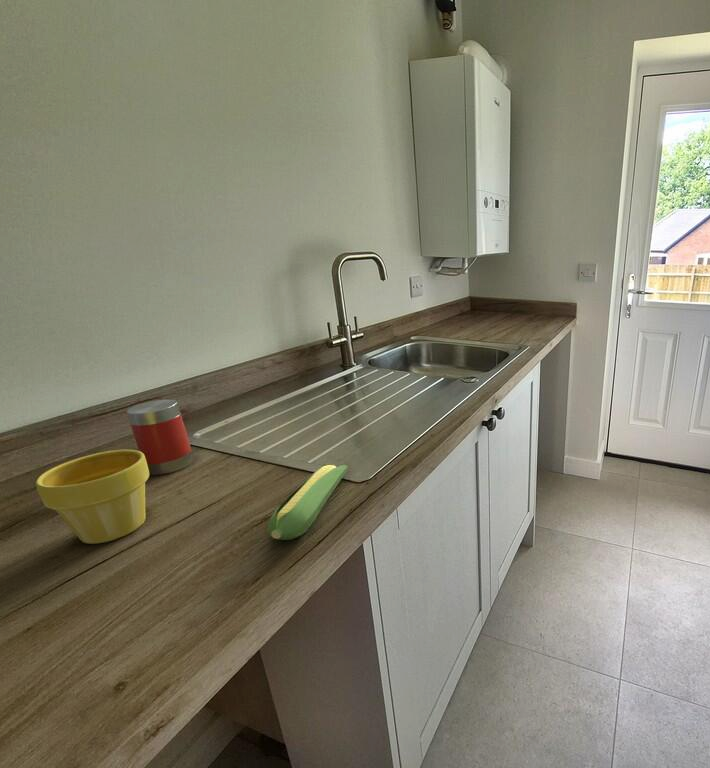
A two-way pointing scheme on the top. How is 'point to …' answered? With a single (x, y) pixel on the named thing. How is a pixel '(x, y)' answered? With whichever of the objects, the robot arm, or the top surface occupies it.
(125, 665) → the top surface
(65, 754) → the top surface
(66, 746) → the top surface
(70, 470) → the flower pot
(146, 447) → the tin can
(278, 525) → the edible corn
